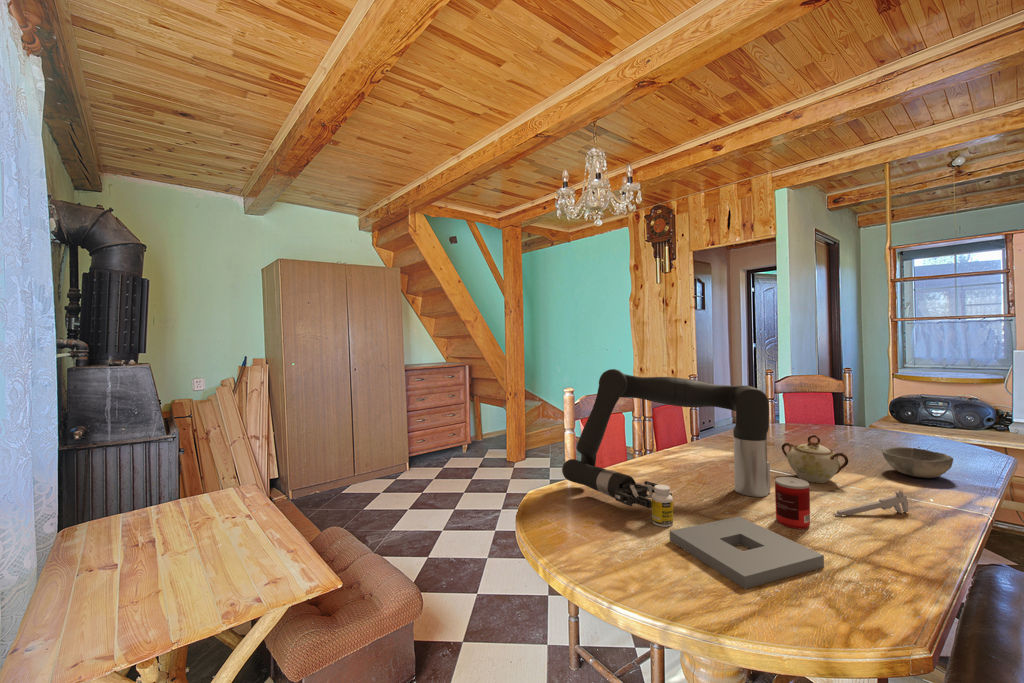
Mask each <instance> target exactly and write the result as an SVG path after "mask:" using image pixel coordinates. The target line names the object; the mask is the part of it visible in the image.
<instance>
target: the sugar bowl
mask: <svg viewBox="0 0 1024 683" xmlns="http://www.w3.org/2000/svg"><path fill="white" fill-rule="evenodd" d="M812 438H813V439H814V438H816V439H817V442H811V440H812ZM820 443H821V439H820V437H819V436H818V435H817V434H812V435H810V436H808V438H807V443H802V444H797V445H795V444H792V443H790V442H784V443H783V444H782V445H781V452H782V453H783V454H784V456H785V457H786V459H787V462H788V465H789V466H790V468H791V470H793V472H794V473H795V474H796V476H797V478H798V479H802V480H804V481H807V482H808V483H810V482H811V483H815V482H816V484H823V483H828V482H829V481H830V480H831V479H832V478H833V477H834V476H835V475H838V474H839V473H840V472H841V471H842V470H843V469H844V468H845V467H847V465H848V464H849V459H848V456H847V455H846V454H845V453H844V452H837V453H836V452H834V451H833V450H832V449H830V448H828V447H825V446H823V445H821V444H820ZM787 446H788V447H789V449H788V452H787V451H786V450H785V448H786V447H787ZM839 457H842V458H843V459H844V462H843V464H842V465H841V460H840V458H839Z"/></svg>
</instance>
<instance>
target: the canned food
mask: <svg viewBox="0 0 1024 683" xmlns="http://www.w3.org/2000/svg"><path fill="white" fill-rule="evenodd" d="M810 491H811V490H810V482H809V481H805V480H802V479H800V478H799V477H797V478H796V477H792V476H780V477H776V478H775V479H774V494H775V495H774V500H775V501H774V502H775V518H776V521H777V523H778V522H779V523H778V524H780V525H781V524H782V526H783V525H784V526H783V527H786V526H787V527H786V528H789V527H790V528H789V529H794V528H795V530H804V529H807V528H809V527H810V525H811V502H810V501H811V497H810V496H811V494H810V493H811V492H810Z"/></svg>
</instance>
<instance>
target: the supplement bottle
mask: <svg viewBox="0 0 1024 683" xmlns="http://www.w3.org/2000/svg"><path fill="white" fill-rule="evenodd" d="M654 492H655V493H653V495H652V498H651V501H652V507H651V522H652V523H653V524H654V525H655V526H657V527H662V528H668V526H669V527H671V526H673V524H674V497H673V495H672V496H671V495H670V492H671V487H670V485H666V484H659V485H655V486H654Z"/></svg>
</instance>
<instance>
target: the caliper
mask: <svg viewBox="0 0 1024 683" xmlns="http://www.w3.org/2000/svg"><path fill="white" fill-rule="evenodd" d="M894 493H895V495H890V496H888V497H883V498H879V499H878V500H877V501H874V502H869V503H865V504H861V505H857V506H852V507H847V508H843V509H840V510H837V511H836V512H834V513H832V515H833V516H834V515H835V516H834V517H843V516H842V515H849V516H853V515H856V514H857V515H858V514H861V513H865V512H868V511H874V510H877V509H882V510H884V511H886V510H889V509H892V508H894V510H895V512H896V511H897V512H899V513H898V514H900V513H902V514H903V513H904V512H908V513H909V500H908V498H907V495H906V494H905V493H904V491H902V490H899V491H898V492H897V491H894ZM903 511H904V512H903ZM897 512H896V513H897Z"/></svg>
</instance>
